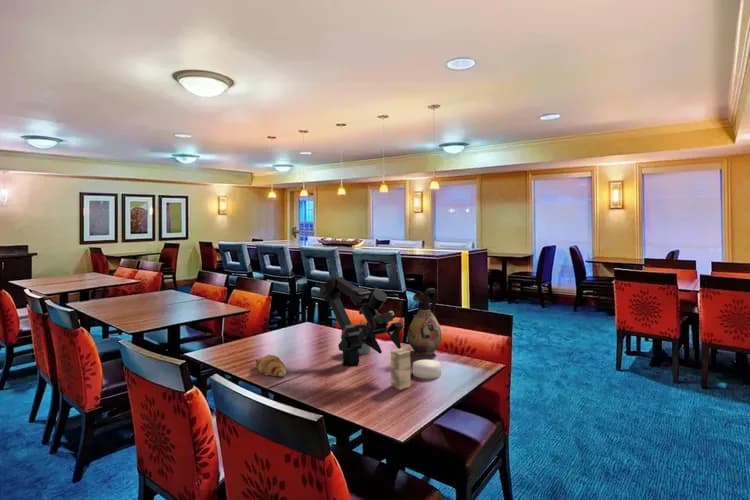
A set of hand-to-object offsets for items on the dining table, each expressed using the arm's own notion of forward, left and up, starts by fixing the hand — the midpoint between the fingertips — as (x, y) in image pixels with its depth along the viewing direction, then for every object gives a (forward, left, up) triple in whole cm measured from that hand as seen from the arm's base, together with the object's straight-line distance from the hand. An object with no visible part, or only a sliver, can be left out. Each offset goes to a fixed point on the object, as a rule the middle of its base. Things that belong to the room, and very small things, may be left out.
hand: (390, 350), depth 161 cm
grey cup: (-10, +40, -12) cm, 43 cm away
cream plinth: (+15, +7, -12) cm, 20 cm away
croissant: (-48, +16, -12) cm, 52 cm away
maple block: (+3, -5, -12) cm, 13 cm away
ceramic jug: (+20, +35, -12) cm, 42 cm away
